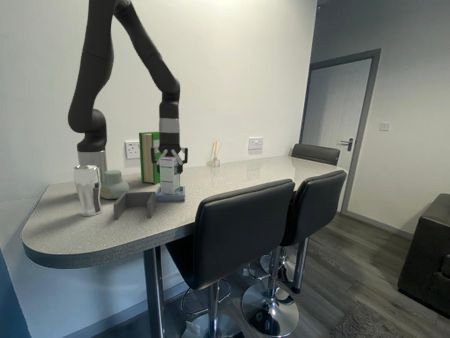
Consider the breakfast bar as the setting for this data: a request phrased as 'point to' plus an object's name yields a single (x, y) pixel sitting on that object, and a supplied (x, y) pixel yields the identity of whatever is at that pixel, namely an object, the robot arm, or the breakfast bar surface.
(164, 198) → the tray
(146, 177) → the hardback book
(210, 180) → the breakfast bar surface
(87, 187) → the beer glass
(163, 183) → the syrup box
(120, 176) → the air freshener
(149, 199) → the dock
